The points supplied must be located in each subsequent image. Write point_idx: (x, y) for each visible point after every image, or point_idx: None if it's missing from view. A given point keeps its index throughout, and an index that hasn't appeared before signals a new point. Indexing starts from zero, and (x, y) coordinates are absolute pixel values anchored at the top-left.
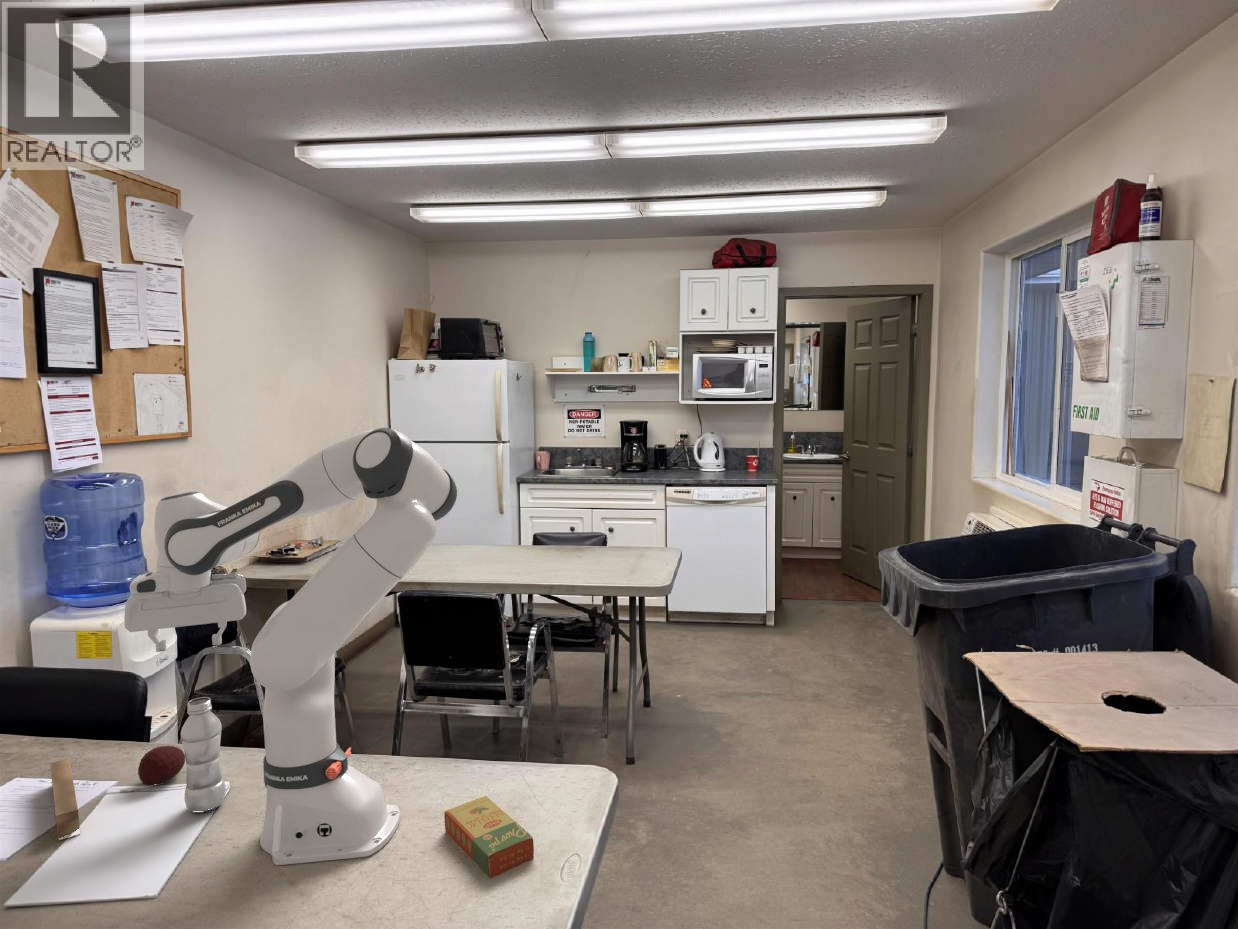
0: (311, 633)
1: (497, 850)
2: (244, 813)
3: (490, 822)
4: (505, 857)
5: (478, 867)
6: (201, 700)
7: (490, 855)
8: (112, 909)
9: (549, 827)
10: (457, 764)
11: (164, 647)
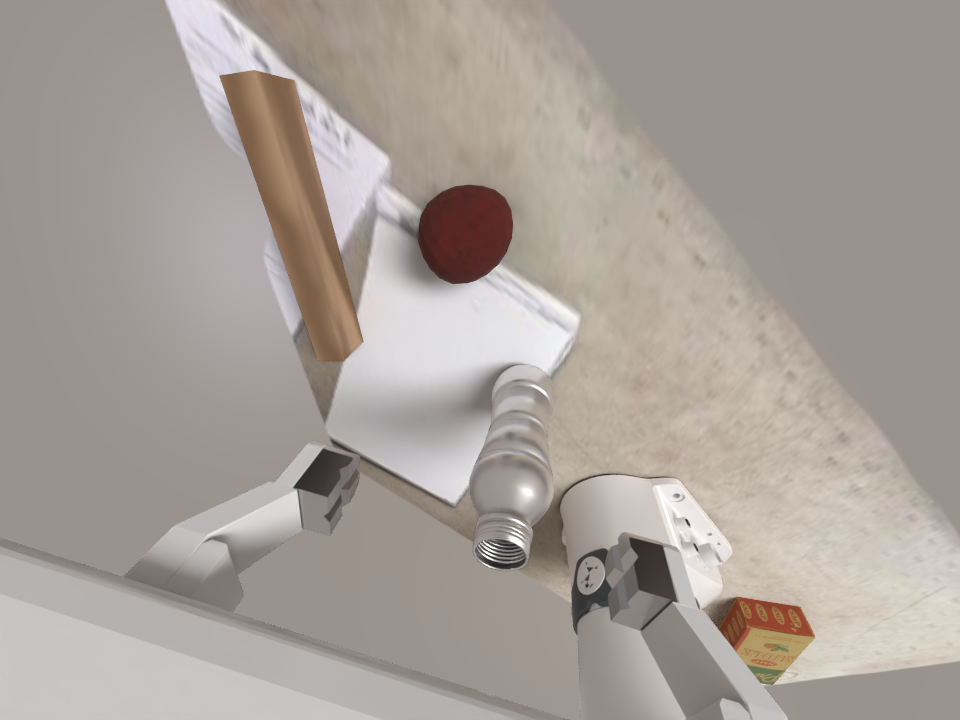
0: None
1: None
2: (567, 430)
3: (764, 661)
4: None
5: None
6: (510, 534)
7: None
8: (419, 498)
9: (824, 649)
10: (918, 515)
11: (345, 499)
